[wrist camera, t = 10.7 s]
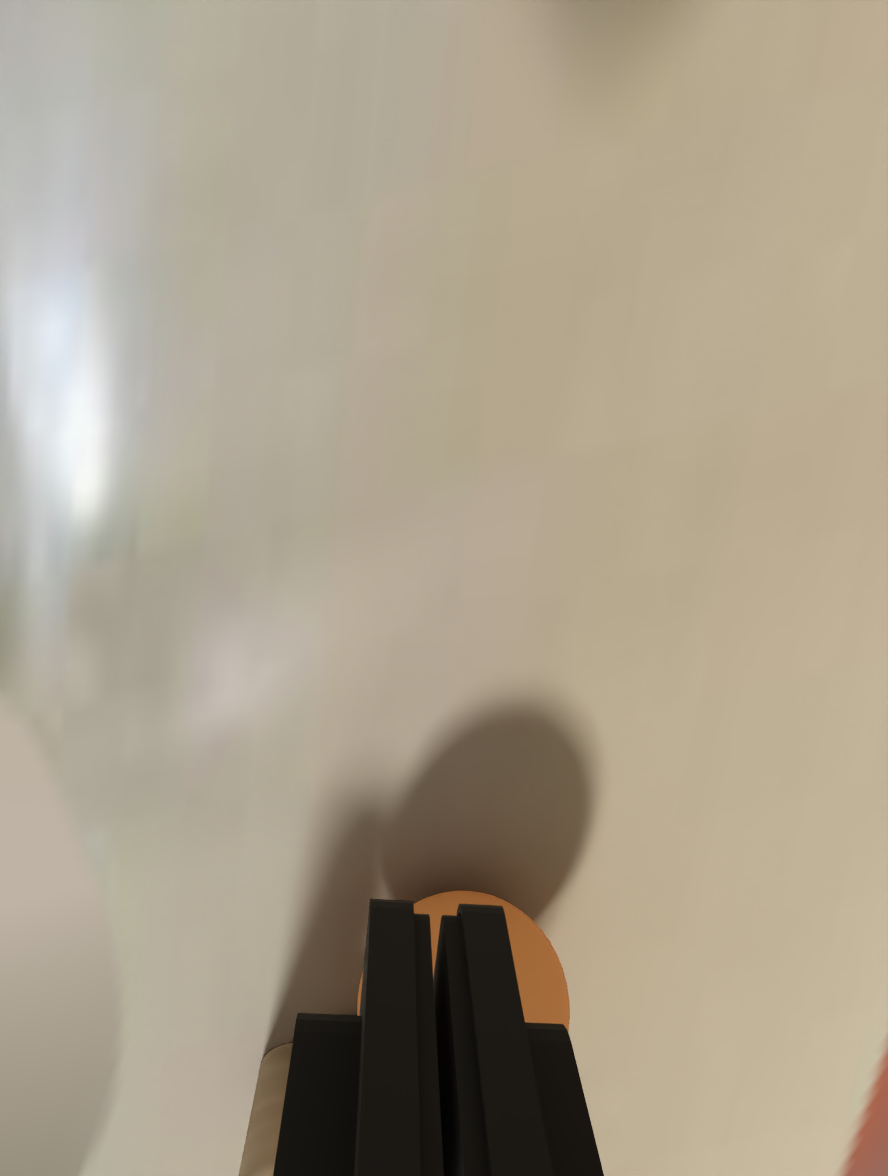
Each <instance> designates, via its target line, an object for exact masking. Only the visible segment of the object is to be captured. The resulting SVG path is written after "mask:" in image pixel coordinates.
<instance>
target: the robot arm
mask: <svg viewBox="0 0 888 1176" xmlns="http://www.w3.org/2000/svg"><path fill="white" fill-rule="evenodd" d="M273 1176H604V1174H603V1170H602V1166H601V1162H600V1158H599V1154H598V1150H597V1146H596V1142H595V1138H594V1134H593V1130H592V1125H591V1121H590V1117H589V1113H588V1109H587V1105H586V1101H585V1097H584V1093H583V1089H582V1085H581V1081H580V1076H579V1072H578V1068H577V1064H576V1060H575V1056H574V1052H573V1048H572V1044H571V1040H570V1037H569V1034H568V1031H567V1029H566V1028H565V1026H564V1025H563V1024H553V1023H529V1022H525V1020H524V1014H523V1009H522V1004H521V998H520V993H519V987H518V982H517V976H516V971H515V966H514V960H513V955H512V949H511V944H510V939H509V933H508V928H507V922H506V917H505V912H504V909H503V907H502V906H497V905H478V904H459V906H458V909H457V915H456V916H454V915H442V917H441V923H440V930H439V938H438V946H437V954H436V962H435V970H434V978H433V965H432V947H431V929H430V916H429V914H415V913H414V904H413V901H402V900H383V899H370V906H369V916H368V927H367V937H366V948H365V958H364V969H363V980H362V990H361V1001H360V1012H359V1016H357V1015H333V1014H308V1013H298V1015H297V1019H296V1025H295V1031H294V1038H293V1045H292V1052H291V1058H290V1065H289V1072H288V1078H287V1085H286V1092H285V1098H284V1105H283V1112H282V1119H281V1125H280V1132H279V1139H278V1145H277V1152H276V1159H275V1165H274V1172H273Z"/></svg>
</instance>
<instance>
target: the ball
mask: <svg viewBox="0 0 888 1176" xmlns="http://www.w3.org/2000/svg"><path fill="white" fill-rule="evenodd" d="M459 904H478V905H497V906H502V907H503V909H504V912H505V917H506V922H507V928H508V933H509V939H510V944H511V949H512V955H513V960H514V966H515V971H516V976H517V982H518V987H519V993H520V998H521V1004H522V1009H523V1014H524V1020H525V1022H529V1023H553V1024H563V1025H564V1026H565V1028H566V1029H567V1031H568V1029H569V1019H570V1010H569V996H568V989H567V983H566V979H565V976H564V972H563V968H562V966H561V963H560V961H559V958H558V956H557V954H556V952H555V950H554V948H553V946H552V945H551V943H550V941H549V940H548V938H547V937H546V936H545V934H544V933H543V931H542V930H541V929H540V928H539V927H538V926H537V925H536V924H535V922H534V921H533V920H532V919H531V918H529V917H528V916H527V915H526V914H525V913H523V912H522V911H521V910H520V909H518V908H516V907H515V906H513V905H512V904H510V903H509V902H506V901H504V900H502V899H500V898H498V897H495V896H492V895H489V894H485V893H481V892H474V891H451V892H443V893H439V894H436V895H433V896H430V897H427V898H425V899H422V900H420V901H418V902H416V903H415V904H414V913H415V914H429V916H430V929H431V947H432V965H433V978H434V970H435V962H436V954H437V946H438V938H439V930H440V923H441V917H442V915H454V916H456V915H457V909H458V906H459ZM362 980H363V972H362V976H361V979H360V985H359V991H358V1003H357V1015H358V1016H359V1012H360V1001H361V990H362Z"/></svg>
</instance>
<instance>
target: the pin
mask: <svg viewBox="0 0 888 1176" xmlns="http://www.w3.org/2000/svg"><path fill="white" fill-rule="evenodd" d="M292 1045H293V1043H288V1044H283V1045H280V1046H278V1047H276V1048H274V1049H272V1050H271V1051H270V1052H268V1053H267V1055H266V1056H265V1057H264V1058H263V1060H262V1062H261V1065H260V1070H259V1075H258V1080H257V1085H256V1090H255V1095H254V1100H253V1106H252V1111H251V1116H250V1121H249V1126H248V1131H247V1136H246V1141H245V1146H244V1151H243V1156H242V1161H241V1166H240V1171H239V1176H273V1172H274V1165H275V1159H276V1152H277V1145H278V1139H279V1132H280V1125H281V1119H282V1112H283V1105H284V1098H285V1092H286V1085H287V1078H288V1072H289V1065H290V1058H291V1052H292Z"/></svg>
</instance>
